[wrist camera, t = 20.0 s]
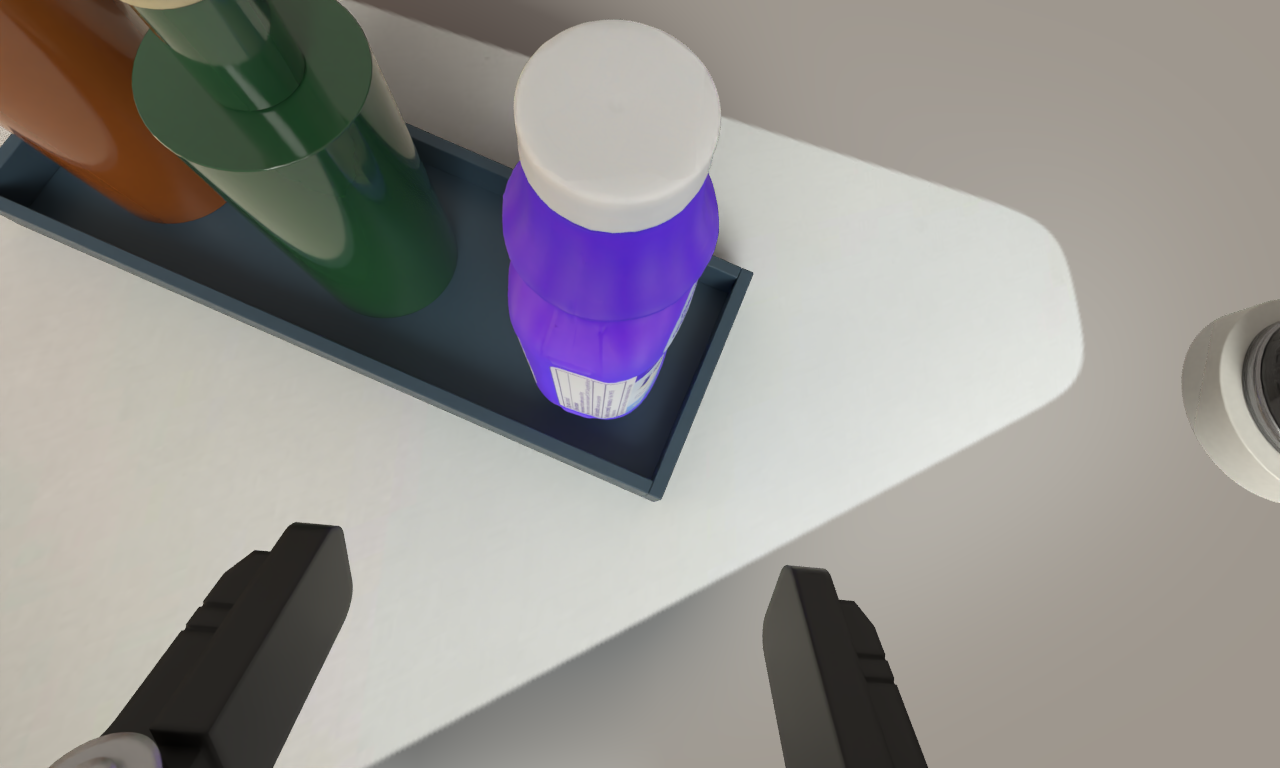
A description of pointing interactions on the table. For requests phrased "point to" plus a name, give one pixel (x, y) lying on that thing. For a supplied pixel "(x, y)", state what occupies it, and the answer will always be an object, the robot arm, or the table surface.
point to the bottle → (608, 209)
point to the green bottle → (298, 142)
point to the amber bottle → (91, 105)
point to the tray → (408, 345)
